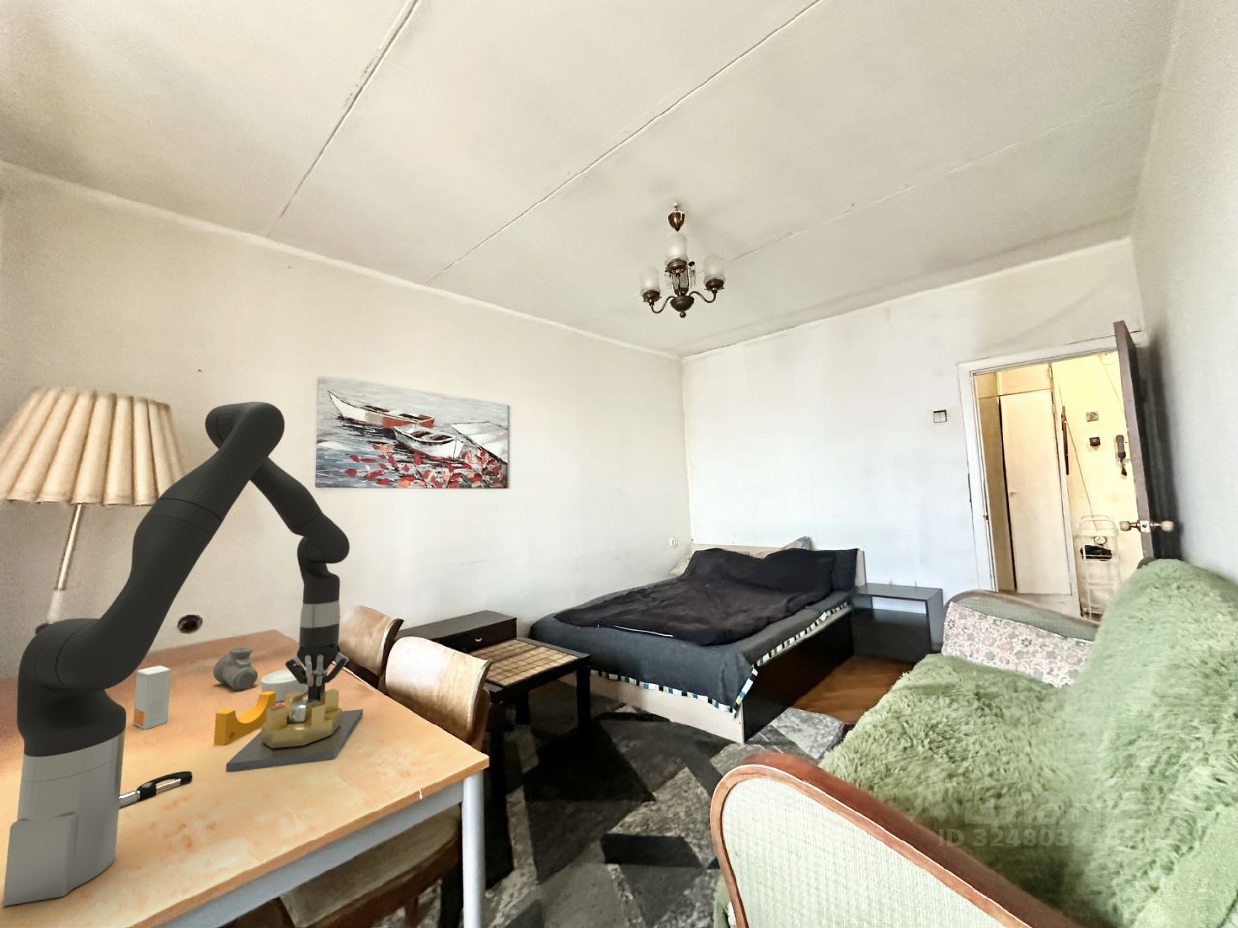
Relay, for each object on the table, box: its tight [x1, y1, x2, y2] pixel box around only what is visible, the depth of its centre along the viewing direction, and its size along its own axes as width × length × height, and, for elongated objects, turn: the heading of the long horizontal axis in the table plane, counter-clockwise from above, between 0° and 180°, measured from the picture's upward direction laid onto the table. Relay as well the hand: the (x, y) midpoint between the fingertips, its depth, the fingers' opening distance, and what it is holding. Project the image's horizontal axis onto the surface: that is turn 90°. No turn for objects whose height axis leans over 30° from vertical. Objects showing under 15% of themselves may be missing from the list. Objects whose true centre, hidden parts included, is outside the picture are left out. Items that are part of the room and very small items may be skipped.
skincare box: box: [132, 665, 172, 730], centre depth 110 cm, size 6×4×12 cm
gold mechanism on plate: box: [225, 698, 364, 773], centre depth 101 cm, size 20×18×8 cm
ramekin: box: [260, 667, 308, 703], centre depth 125 cm, size 11×11×5 cm
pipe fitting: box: [212, 645, 259, 691], centre depth 132 cm, size 12×8×10 cm
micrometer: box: [119, 770, 193, 810], centre depth 82 cm, size 15×7×3 cm, turn 143°
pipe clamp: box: [213, 691, 277, 747], centre depth 105 cm, size 12×4×6 cm, turn 171°
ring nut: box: [261, 688, 343, 748], centre depth 101 cm, size 13×13×7 cm
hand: (316, 702), depth 106 cm, fingers closed
